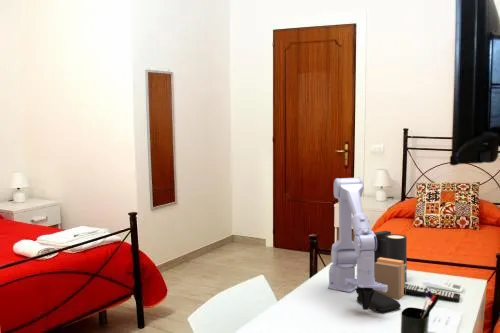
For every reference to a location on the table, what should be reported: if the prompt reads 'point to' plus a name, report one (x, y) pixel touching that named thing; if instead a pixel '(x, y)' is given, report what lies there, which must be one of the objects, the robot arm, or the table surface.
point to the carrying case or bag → (382, 303)
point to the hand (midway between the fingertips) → (366, 308)
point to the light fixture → (391, 247)
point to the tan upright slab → (391, 276)
